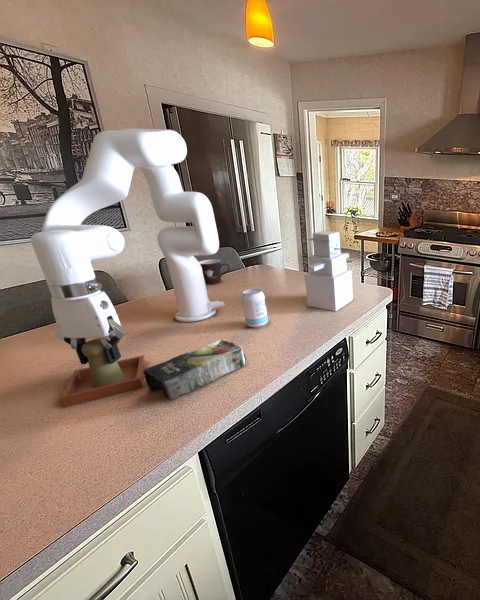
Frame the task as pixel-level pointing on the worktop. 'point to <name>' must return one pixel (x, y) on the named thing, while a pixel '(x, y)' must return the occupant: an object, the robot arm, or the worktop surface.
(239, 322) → the worktop surface
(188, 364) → the juice carton
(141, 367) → the tray
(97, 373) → the cork
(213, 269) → the coffee mug
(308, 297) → the blocky snowman figure
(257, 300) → the beverage can
